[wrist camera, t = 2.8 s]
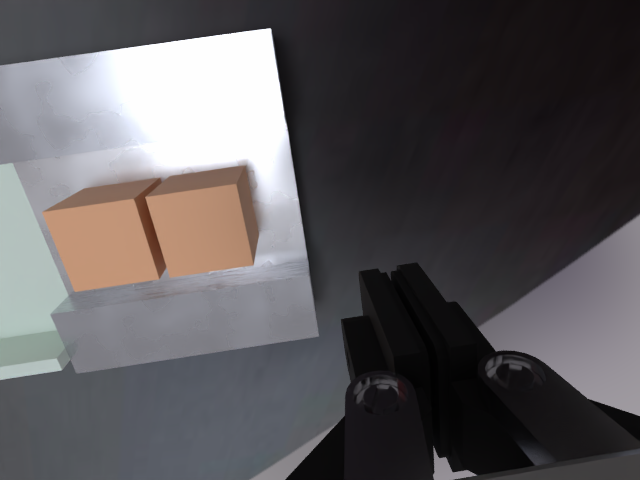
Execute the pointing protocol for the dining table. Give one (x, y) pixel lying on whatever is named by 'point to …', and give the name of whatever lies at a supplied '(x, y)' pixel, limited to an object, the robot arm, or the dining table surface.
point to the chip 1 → (107, 235)
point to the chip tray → (26, 288)
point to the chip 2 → (205, 221)
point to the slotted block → (162, 161)
